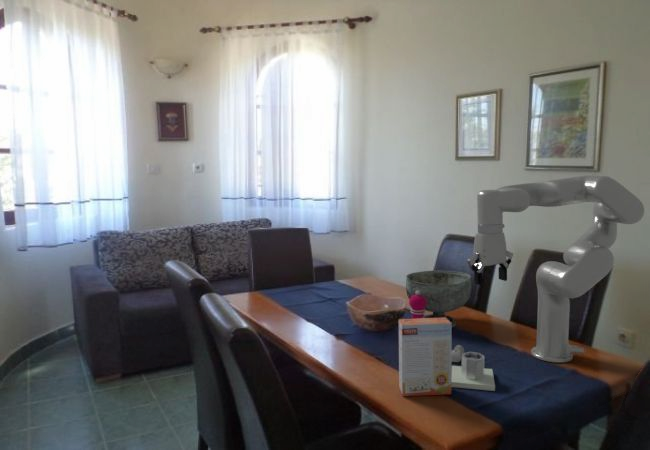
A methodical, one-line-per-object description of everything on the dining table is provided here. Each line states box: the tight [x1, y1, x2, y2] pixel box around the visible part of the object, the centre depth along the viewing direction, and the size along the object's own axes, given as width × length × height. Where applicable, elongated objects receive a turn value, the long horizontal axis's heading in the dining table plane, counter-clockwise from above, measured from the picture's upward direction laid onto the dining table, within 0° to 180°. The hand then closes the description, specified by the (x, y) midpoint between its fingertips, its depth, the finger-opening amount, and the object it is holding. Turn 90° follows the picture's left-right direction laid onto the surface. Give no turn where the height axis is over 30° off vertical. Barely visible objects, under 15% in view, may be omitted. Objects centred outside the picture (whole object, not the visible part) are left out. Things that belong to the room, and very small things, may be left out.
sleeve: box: [460, 351, 485, 380], centre depth 149 cm, size 6×6×6 cm
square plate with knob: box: [451, 357, 496, 392], centre depth 149 cm, size 12×12×6 cm
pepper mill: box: [408, 291, 426, 319], centre depth 177 cm, size 7×7×20 cm
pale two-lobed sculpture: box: [452, 344, 466, 363], centre depth 165 cm, size 4×8×5 cm
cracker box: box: [398, 317, 453, 397], centre depth 142 cm, size 14×6×21 cm, turn 92°
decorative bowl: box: [405, 269, 472, 328], centre depth 200 cm, size 26×26×20 cm
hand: (490, 282), depth 160 cm, fingers open, 9 cm apart
